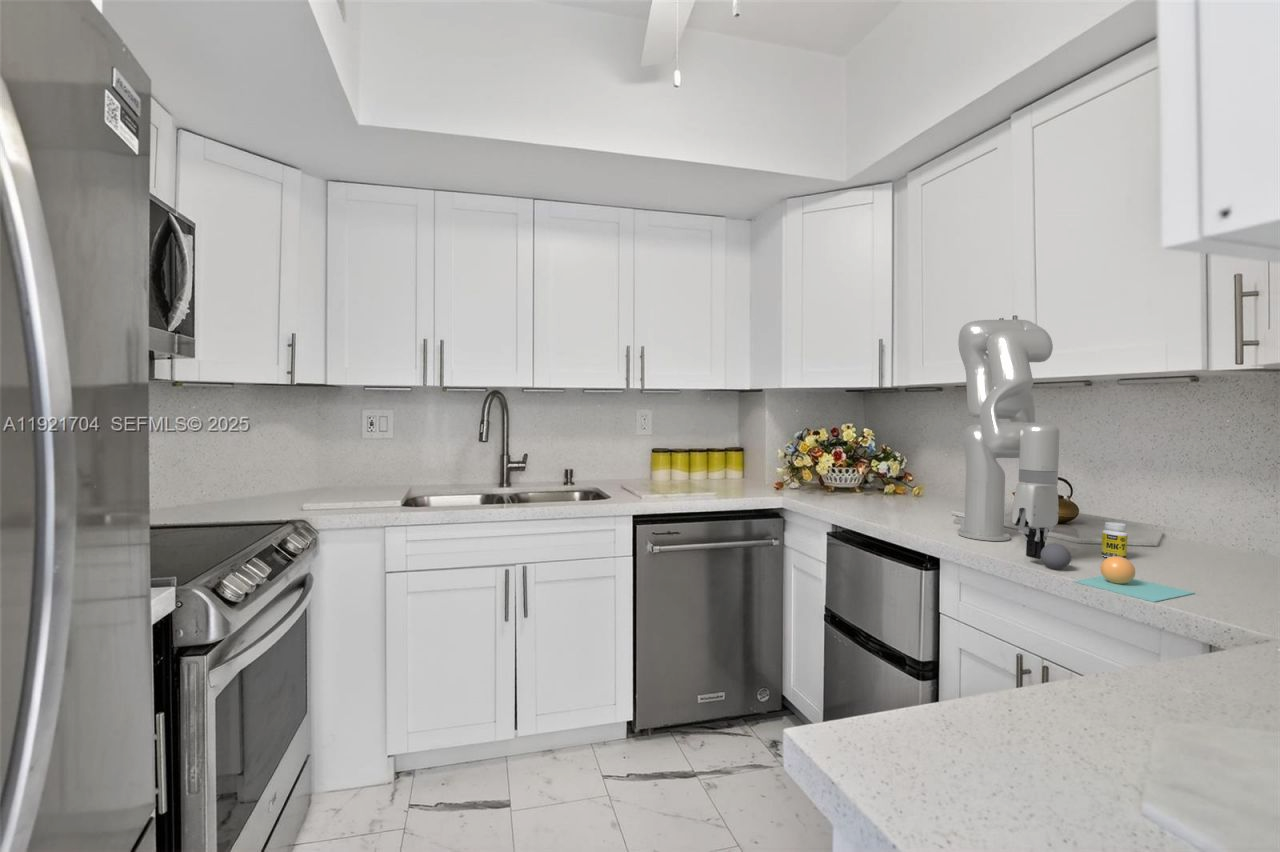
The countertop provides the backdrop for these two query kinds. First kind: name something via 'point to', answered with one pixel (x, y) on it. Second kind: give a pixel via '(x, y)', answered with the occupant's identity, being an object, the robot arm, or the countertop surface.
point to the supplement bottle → (1114, 540)
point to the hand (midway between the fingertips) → (1035, 557)
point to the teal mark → (1137, 589)
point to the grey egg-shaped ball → (1055, 556)
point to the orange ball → (1117, 570)
